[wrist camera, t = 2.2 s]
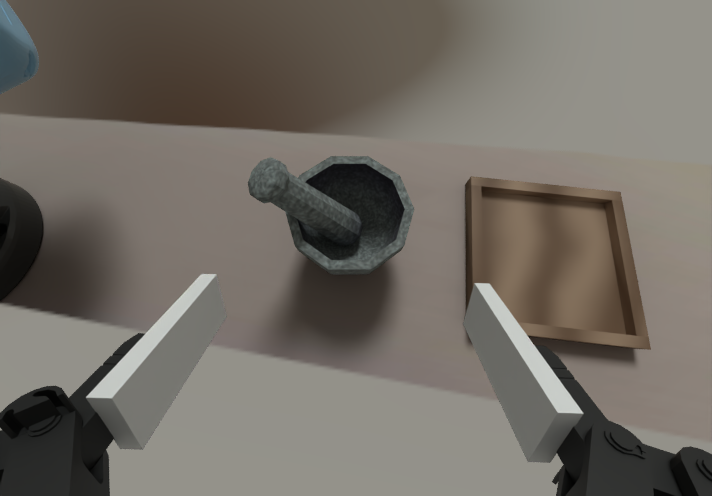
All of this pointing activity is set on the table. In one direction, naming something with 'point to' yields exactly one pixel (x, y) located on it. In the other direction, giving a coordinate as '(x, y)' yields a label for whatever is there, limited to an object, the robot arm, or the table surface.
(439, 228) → the table surface
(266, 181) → the mortar and pestle
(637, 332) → the walnut tray
